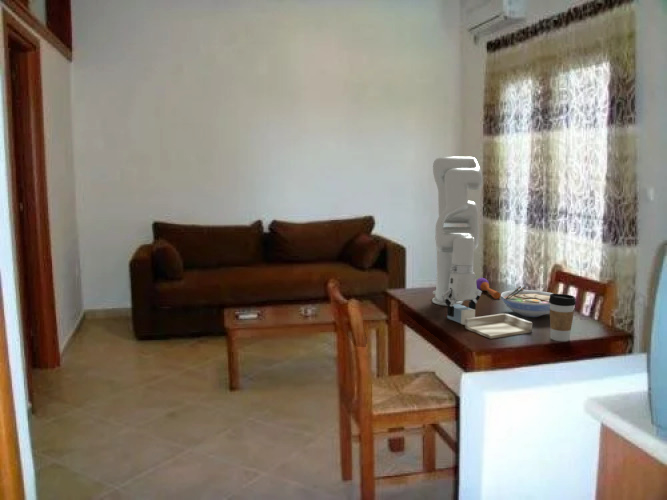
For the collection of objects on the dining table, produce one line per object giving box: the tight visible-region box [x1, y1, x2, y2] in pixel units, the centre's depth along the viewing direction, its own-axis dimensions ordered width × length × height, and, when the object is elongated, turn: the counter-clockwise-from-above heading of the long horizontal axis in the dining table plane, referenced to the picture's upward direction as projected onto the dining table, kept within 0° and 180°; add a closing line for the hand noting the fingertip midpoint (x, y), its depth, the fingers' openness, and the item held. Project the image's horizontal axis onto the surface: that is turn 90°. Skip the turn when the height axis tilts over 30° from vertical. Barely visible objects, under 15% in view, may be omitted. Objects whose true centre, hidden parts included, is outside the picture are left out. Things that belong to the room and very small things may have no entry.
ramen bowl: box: [500, 285, 554, 318], centre depth 238 cm, size 25×23×8 cm
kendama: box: [476, 277, 501, 300], centre depth 274 cm, size 6×6×20 cm
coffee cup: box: [549, 293, 577, 342], centre depth 207 cm, size 8×8×15 cm
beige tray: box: [464, 312, 533, 340], centre depth 218 cm, size 14×18×4 cm
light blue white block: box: [446, 304, 476, 326], centre depth 231 cm, size 10×5×5 cm, turn 26°
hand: (461, 314), depth 230 cm, fingers open, 9 cm apart
